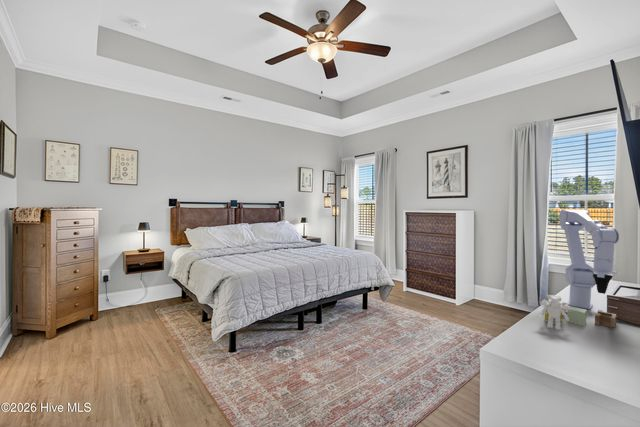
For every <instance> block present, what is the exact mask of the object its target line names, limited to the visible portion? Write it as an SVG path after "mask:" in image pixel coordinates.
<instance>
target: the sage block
mask: <svg viewBox="0 0 640 427" xmlns="http://www.w3.org/2000/svg"><path fill="white" fill-rule="evenodd" d="M569 306H570V308H571V310H570V311H571V312H570V311H569V310H567V311H568V312H567V314H566V315H567V316H568V318H569V321H567V320H566V322H567V323H571V324H574V325H579V326H584V327H585V326H586V324H587V316H588V315H587V312H588V309H586V308H581V307H576V306H571V305H569Z"/></svg>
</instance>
